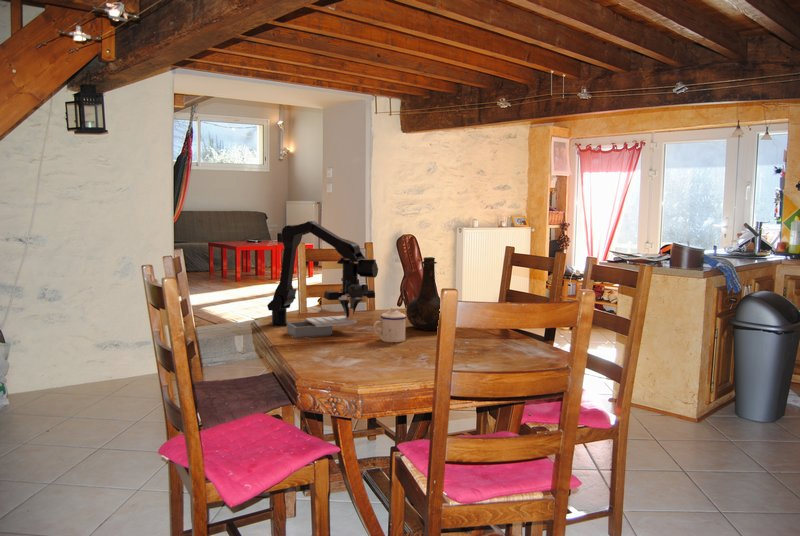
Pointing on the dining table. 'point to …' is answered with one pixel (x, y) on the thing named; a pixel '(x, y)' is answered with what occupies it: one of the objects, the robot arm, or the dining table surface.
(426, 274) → the glass bottle
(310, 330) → the tub
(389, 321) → the teacup with lid
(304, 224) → the robot arm
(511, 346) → the dining table surface
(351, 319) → the lid
